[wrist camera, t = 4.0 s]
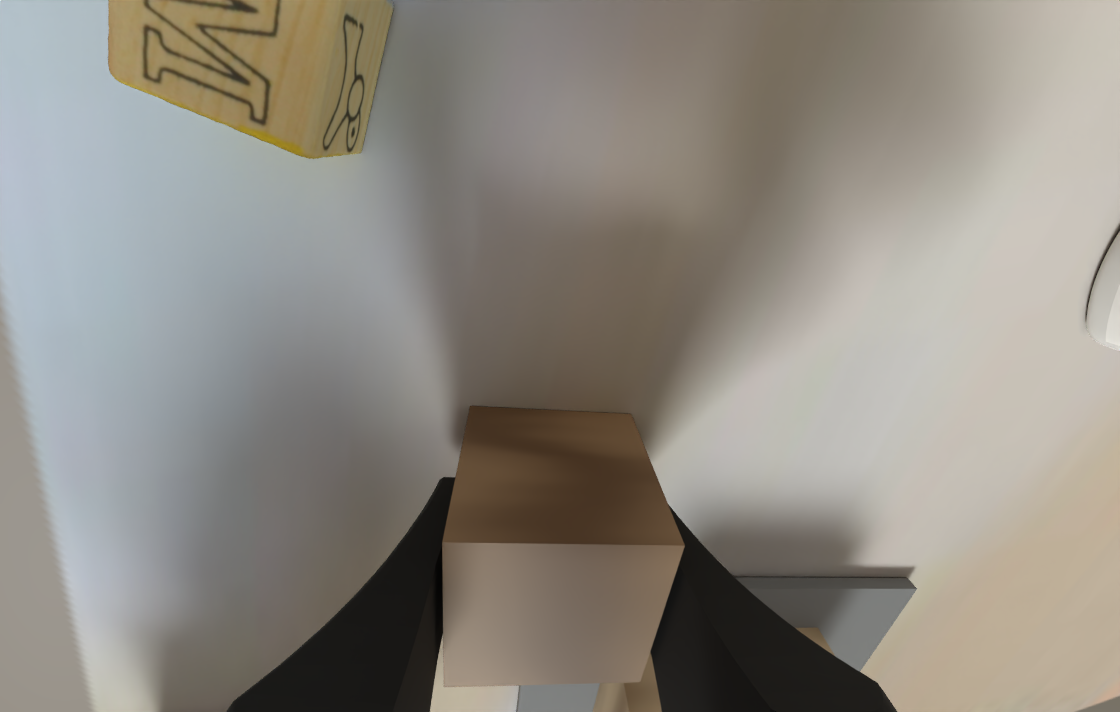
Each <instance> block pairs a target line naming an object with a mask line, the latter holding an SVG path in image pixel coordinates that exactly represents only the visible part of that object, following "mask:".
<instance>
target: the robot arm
mask: <svg viewBox="0 0 1120 712" xmlns="http://www.w3.org/2000/svg"><path fill="white" fill-rule="evenodd" d="M454 482H455V477H443V478H442V479H440V480H439V482H438V484H437V486H436V488H435V490H434V492H433V494H432V495H431V497H430V499H429V500H428V502H427V504H426V505H425V507H424V508H423V510H422V512H421V513H420V515H419V516H418V518H417V519H416V520H415V522H414V523H413V525H412V526H411V528H410V529H409V531H408V532H407V534H406V535H405V536H404V538H403V539H402V540H401V542H400V543H399V544H398V545H397V547H396V548H395V549H394V551H393V552H392V553H391V554H390V556H389V557H388V558H387V560H386V561H385V562H384V563H383V564H382V566H381V567H380V568H379V569H378V570H377V571H376V573H375V574H374V575H373V576H372V577H371V578H370V579H369V581H368V582H367V583H366V584H365V585H364V586H363V587H362V588H361V589H360V590H359V592H358V593H357V594H356V595H355V596H354V597H353V598H352V599H351V600H350V601H349V602H348V603H347V604H346V605H345V606H344V607H343V608H342V609H341V610H340V611H339V612H338V613H337V614H336V615H335V616H334V617H333V618H332V619H331V620H330V621H329V622H328V623H327V624H326V625H325V626H323V627H322V628H321V629H320V630H319V631H318V632H317V633H316V634H314V635H313V636H312V637H311V638H310V639H309V640H308V641H307V642H305V643H304V644H303V645H302V646H301V647H300V648H299V649H298V650H297V651H295V652H294V653H293V654H292V655H291V656H290V657H289V658H287V659H286V660H285V661H284V662H283V663H281V664H280V665H279V666H278V667H276V668H275V669H274V670H273V671H271V672H270V673H269V674H268V675H266V676H265V677H264V678H263V679H261V680H260V681H259V682H257V683H256V684H255V685H254V686H252V687H251V688H250V689H249V690H247V691H246V692H245V693H244V694H242V695H241V696H240V697H238V698H237V699H236V700H235V701H234V702H233V703H232V704H231V706H230V707H229V709H228V710H227V712H430V706H431V699H432V692H433V685H434V679H435V672H436V665H437V659H438V654H439V649H440V644H441V639H442V635H443V569H442V541H443V536H444V531H445V526H446V521H447V517H448V512H449V507H450V502H451V497H452V492H453V487H454ZM668 506H669V505H668ZM669 508H670V510H671V513H672V515H673V518H674V520H675V523H676V525H677V528H678V530H679V533H680V535H681V537H682V540H683V542H684V545H685V547H684V550H683V553H682V556H681V559H680V562H679V565H678V568H677V571H676V574H675V577H674V580H673V584H672V587H671V590H670V593H669V596H668V599H667V602H666V605H665V608H664V611H663V614H662V617H661V620H660V623H659V626H658V629H657V632H656V636H655V639H654V642H653V645H652V648H651V651H650V652H651V657H652V661H653V667H654V672H655V677H656V682H657V688H658V693H659V698H660V704H661V710H662V712H897V711H896V709H895V708H894V706H893V705H892V703H891V702H890V700H889V699H888V697H887V696H886V694H885V693H884V691H883V690H882V689H881V687H880V686H879V685H878V683H877V682H875V681H874V680H872V679H870V678H869V677H867V676H866V675H864V674H862V673H861V672H859V671H858V670H856V669H855V668H853V667H851V666H850V665H848V664H847V663H845V662H843V661H842V660H840V659H839V658H837V657H836V656H834V655H832V654H831V653H830V652H828V651H827V650H825V649H824V648H822V647H821V646H819V645H818V644H817V643H815V642H814V641H812V640H811V639H810V638H808V637H807V636H805V635H804V634H803V633H801V632H800V631H799V630H797V629H796V628H794V627H793V626H792V625H790V624H789V623H788V622H787V621H785V620H784V619H783V618H781V617H780V616H779V615H778V614H776V613H775V612H774V611H773V610H772V609H770V608H769V607H768V606H767V605H765V604H764V603H763V602H762V601H761V600H759V599H758V598H757V597H756V596H755V595H753V594H752V593H751V592H750V591H749V590H748V589H747V588H746V587H745V586H744V585H742V584H741V583H740V582H739V581H738V580H737V579H736V578H735V577H734V576H733V575H732V574H730V573H729V572H728V571H727V570H726V569H725V568H724V567H723V566H722V565H721V564H720V563H719V562H718V561H717V560H716V559H715V557H714V556H713V555H712V554H711V553H710V552H709V551H708V550H707V549H706V548H705V547H704V546H703V545H702V544H701V543H700V541H699V540H698V539H697V538H696V537H695V536H694V535H693V533H692V532H691V531H690V530H689V529H688V528H687V527H686V525H685V524H684V523H683V522H682V521H681V519H680V518H679V517H678V516H677V515H676V513H675V512H674V511H673V510H672V508H671V507H670V506H669Z"/></svg>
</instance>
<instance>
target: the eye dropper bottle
mask: <svg viewBox="0 0 1120 712" xmlns="http://www.w3.org/2000/svg"><path fill="white" fill-rule="evenodd" d="M1086 328H1087V331H1088V333H1089V335H1090V337H1091V338H1092V339H1093V340H1094V341H1095V342H1097V343H1099V344H1101V345H1104V346H1106V347H1109V348H1112V349H1115V350H1118V351H1120V231H1119V233H1118V235H1117V236H1116V238H1115V240H1114V241H1113V243H1112V245H1111V246H1110V248H1109V250H1108V252H1107V254H1106V256H1105V258H1104V260H1103V262H1102V264H1101V267H1100V269H1099V271H1098V274H1097V276H1096V279H1095V282H1094V285H1093V288H1092V291H1091V295H1090V299H1089V304H1088V310H1087V318H1086Z"/></svg>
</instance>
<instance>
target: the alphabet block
mask: <svg viewBox="0 0 1120 712" xmlns="http://www.w3.org/2000/svg"><path fill="white" fill-rule="evenodd" d="M393 10H394V3H393V1H392V0H109V36H108V51H109V54H108V64H109V70H110V73H111V74H112V76H113V77H114V78H115V79H116V80H118V81H119V82H121V83H123V84H125V85H128V86H130V87H133V88H135V89H138V90H141V91H143V92H146V93H148V94H151V95H153V96H156V97H159V98H161V99H163V100H165V101H167V102H169V103H172V104H174V105H177V106H179V107H181V108H184V109H188V110H190V111H192V112H195V113H197V114H199V115H202V116H205V117H207V118H209V119H211V120H214V121H216V122H219V123H222V124H225V125H227V126H229V127H232V128H234V129H236V130H238V131H240V132H243V133H246V134H248V135H251V136H253V137H256V138H258V139H260V140H262V141H265V142H268V143H271V144H273V145H275V146H278V147H280V148H282V149H284V150H287V151H289V152H291V153H294V154H296V155H299V156H302V157H306V158H309V159H310V158H312V159H315V158H321V157H332V156H341V155H349V154H358V153H361V151H362V147H363V142H364V138H365V133H366V129H367V124H368V119H369V115H370V111H371V107H372V101H373V97H374V91H375V87H376V83H377V78H378V74H379V69H380V65H381V60H382V56H383V52H384V47H385V42H386V38H387V33H388V29H389V25H390V21H391V16H392V13H393Z"/></svg>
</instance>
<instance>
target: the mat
mask: <svg viewBox="0 0 1120 712" xmlns="http://www.w3.org/2000/svg"><path fill="white" fill-rule="evenodd" d="M735 578H736V579H737V580H738V581H739V582H740V583H741V584H742V585H744V586H745V587H746V588H747V589H748V590H749V591H750V592H751V593H752V594H753V595H755V596H756V597H757V598H758V599H759V600H761V601H762V602H763V603H764V604H765V605H767V606H768V607H769V608H770V609H772V610H773V611H774V612H775V613H776V614H778V615H779V616H780V617H781V618H783V619H784V620H785V621H787V622H788V623H789V624H790V625H792V626H793V627H794V628H818V629H819V630H820V632H821V634H822V635H823V637H824V639H825V640H826V642H827V643H828V645H829V647H830V648H831V650H832V652H833V653H834V655H835V656H836V657H837V658H839V659H840V660H842V661H843V662H845V663H847V664H848V665H850V666H851V667H853V668H855V669H856V670H858V671H859V672H860V671H861V669H862V668H863V666H864V665H865V664H866V662H867V661H868V659H869V658H870V656H871V655H872V653H873V652H874V651H875V649H876V648H877V646H878V645H879V643H880V642H881V640H882V639H883V637H884V636H885V635H886V633H887V632H888V630H889V629H890V627H891V626H892V624H893V623H894V622H895V620H896V619H897V617H898V616H899V614H900V613H901V611H902V610H903V609H904V607H905V606H906V604H907V603H908V601H909V600H910V598H911V597H912V595H913V594H914V593H915V591H916V590H917V588H916V587H915V586H914V585H913V584H912V583H911V581H910V580H909V579H908V578H780V577H735ZM599 685H600V683H592V684H552V685H519V693H518V702H517V710H516V712H593V708H594V704H595V701H596V697H597V693H598V689H599Z"/></svg>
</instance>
